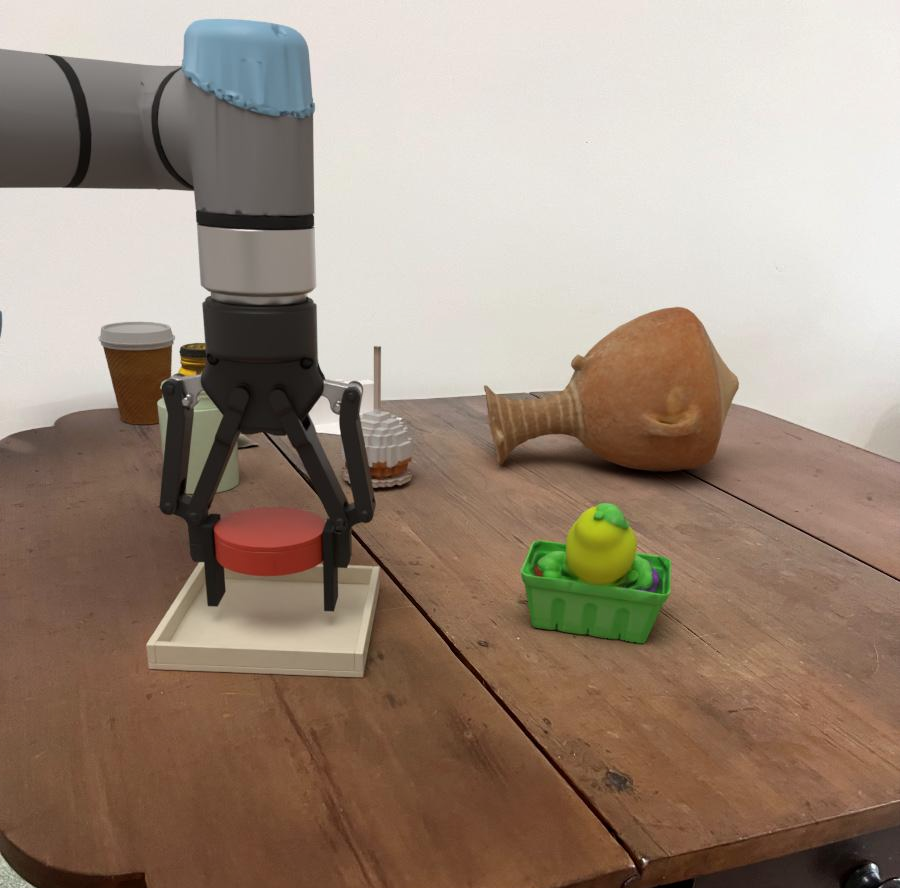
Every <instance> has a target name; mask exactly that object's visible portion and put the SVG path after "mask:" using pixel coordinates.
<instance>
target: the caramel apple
mask: <svg viewBox="0 0 900 888" xmlns="http://www.w3.org/2000/svg"><path fill="white" fill-rule="evenodd" d="M373 380H374V410H372V411H369V412H366V413H364V414H362V415H360V420H361V426H362V431H363V437H364V442H365V447H366V453H367V458H368V464H369V469H370V474H371V480H372V485H373V489H375V488H376V489H377V488H392V487H394V486H395V485H397V486H402V485H403V484H404V485H405V484H406V483H408V482H410V481H412V477H413V471H412V470H411V469H410V467H409V463H410V462H412V459H413V455H414V451H413V450H414V438H412V436H411V435H410V428H409V427H408V426H407V425H406V422H405V421H401V420H400V421H399V419H396V418H397V415H395V414H392V413H391V412H388V411H383V410H381V408H382V407H381V402H382V401H381V400H382V345H374V346H373ZM340 457H341V459H342V461H343V462H344V466H343V467H342V470H341V471H340V475H341V477H342V479H343V481H346V482H348V484H350V479H349V474H348V469H347V464H346V459H345V454H344V448H343V443H341V447H340Z"/></svg>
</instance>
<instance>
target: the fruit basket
mask: <svg viewBox="0 0 900 888" xmlns="http://www.w3.org/2000/svg"><path fill="white" fill-rule="evenodd" d="M637 548H638V539H637V536H636V534H635V532H634V530H633V529H632V527H631V525H630V522H628V521H627V520H626V516H625V515H624V513H623V511H622V510H620V508H619V507H618V506H617V505H615V504H613V503H608V502H602V503H598V504H597V505H596V506H592V507H589V508H587V509H586V510H585V511H583V512H582V513H581V515H580V516H578V519H577V520H576V521H575V522H574V523H573V524H572V525H571V527H570V528H569V530H568V532H567V535H566V539H565V542H564V543H563V542H555V541H548V540H541V539H540V540H536V541H533V542H531V544H530V547H529V549H528V552H527V555H526V557H525V560H524V562H523V564H522V566H521V568H520V576H521V580H522V583H523V584H524V588H525V593H526V599H527V600H526V601H527V605H528V612H529V616H530V617H529V618H530V622H531V623H530V624H531V626H532V627H533V628H536V629H540V630H541V629H542V630H548V631H556V630H557V631H558V632H563V633H568V634H575V635H588V636H591V637H594V638H601V639H607V638H608V640H621V641H624V640H625V641H624V642H627V641H629V642H628V643H634V642H636V643H635V644H641V643H643V644H645V643H646V641H647V639H648V637H649V635H650V633H651V631H652V629H653V626H654V624H655V622H656V620H657V618H658V616H659V613H660V611H661V609H662V607H663V605H664V604H665V603H666V602H667V601H668V599H669V597H670V595H671V593H672V592H671V591H672V589H671V586H672V560H671V559H669V557H666V556H665V557H664V556H663V555H655V554H648V553H643V552H642V553H641V552H637Z"/></svg>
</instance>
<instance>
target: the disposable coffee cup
mask: <svg viewBox="0 0 900 888" xmlns="http://www.w3.org/2000/svg"><path fill="white" fill-rule="evenodd" d="M171 327H172V326H170V325H169V324H167V323H161V322H154V321H123V322H122V321H121V322H114V323H113V322H111V323H107V324H104V325H102V326H100V335H99V336H98V337H97V339H98V341H99V342H100V345H101V347H102V348H103V351H104V355H105V356H104V357H105V360H106V363H107V368H108V371H109V376H110V381H111V384H112V388H113V392H114V395H115V400H116V404H117V405H116V406H117V407H118V412H119V417H120V420H121V421H122V422H123V423H126V424H132V425H155V424H159V417H158V406H157V402H158V401H159V400H160V399H162V398H163V397H162V389H161V388H160V387H161V383H162V382H163V381H165V380H167V379H169V378H170V377H172V361H173V345H174V343H175V342H174V341H175V339H176V335H175V334H173V331H172V328H171Z"/></svg>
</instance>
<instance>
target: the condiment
mask: <svg viewBox="0 0 900 888" xmlns="http://www.w3.org/2000/svg"><path fill="white" fill-rule="evenodd" d="M178 352H179V357H180V361H179V363H180V365H181V366H180V368H179V369H178V372H177V373H181V374H183V375H185V376H192V375H200V374H202V372H203V370H204V368H205V365H206V348H205V342H192V343H187V344H183V345H182V346H180V348H179V351H178ZM237 443H238V448H246V447H249V446H256V445H259V442H255V441H254V440H253V439H250V437H247V436H246V434H241V433H240V435H239V437H238V439H237Z"/></svg>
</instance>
